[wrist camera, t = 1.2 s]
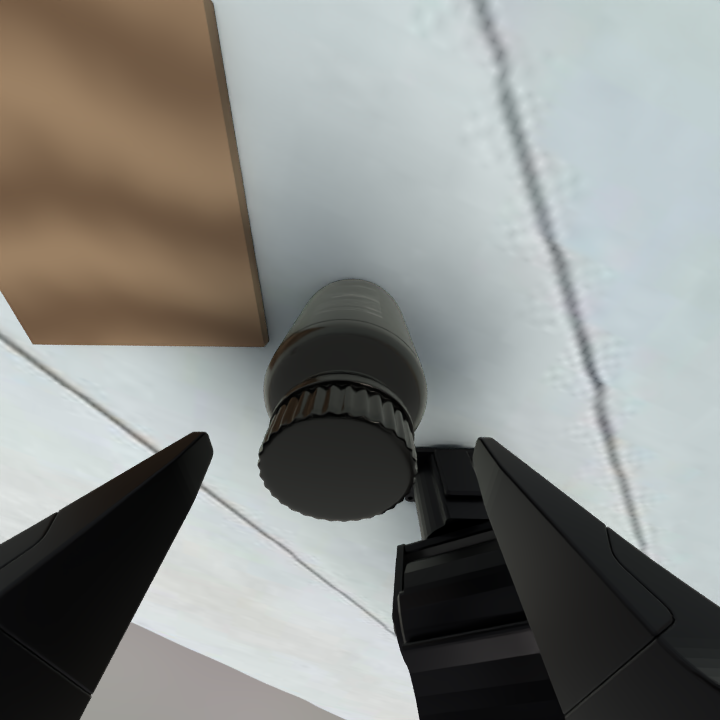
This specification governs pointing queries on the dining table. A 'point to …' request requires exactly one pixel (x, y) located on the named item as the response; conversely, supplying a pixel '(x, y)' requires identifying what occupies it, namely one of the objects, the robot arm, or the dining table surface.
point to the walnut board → (122, 178)
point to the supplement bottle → (343, 406)
